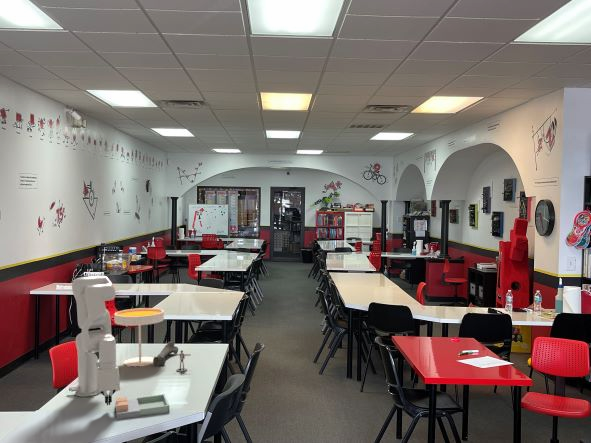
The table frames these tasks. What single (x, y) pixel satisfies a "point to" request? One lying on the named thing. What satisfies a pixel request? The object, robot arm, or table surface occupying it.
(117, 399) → the tile far
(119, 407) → the tile near
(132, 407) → the deck
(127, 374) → the table surface
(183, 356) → the figurine
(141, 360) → the round pedestal stand
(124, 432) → the table surface
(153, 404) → the tray
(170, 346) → the bone
